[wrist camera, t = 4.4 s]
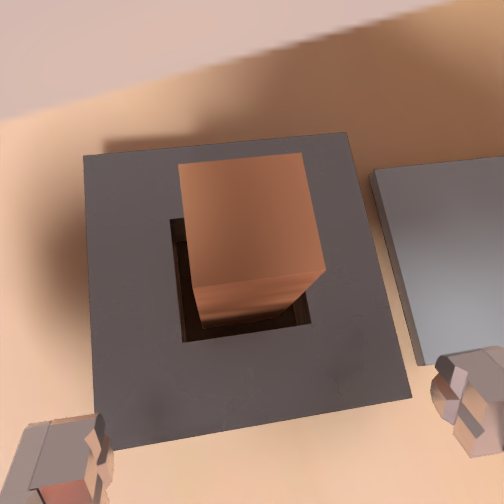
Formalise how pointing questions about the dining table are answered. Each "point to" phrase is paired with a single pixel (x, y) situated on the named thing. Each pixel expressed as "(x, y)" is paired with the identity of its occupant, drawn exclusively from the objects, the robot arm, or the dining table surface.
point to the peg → (249, 236)
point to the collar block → (237, 346)
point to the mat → (446, 251)
